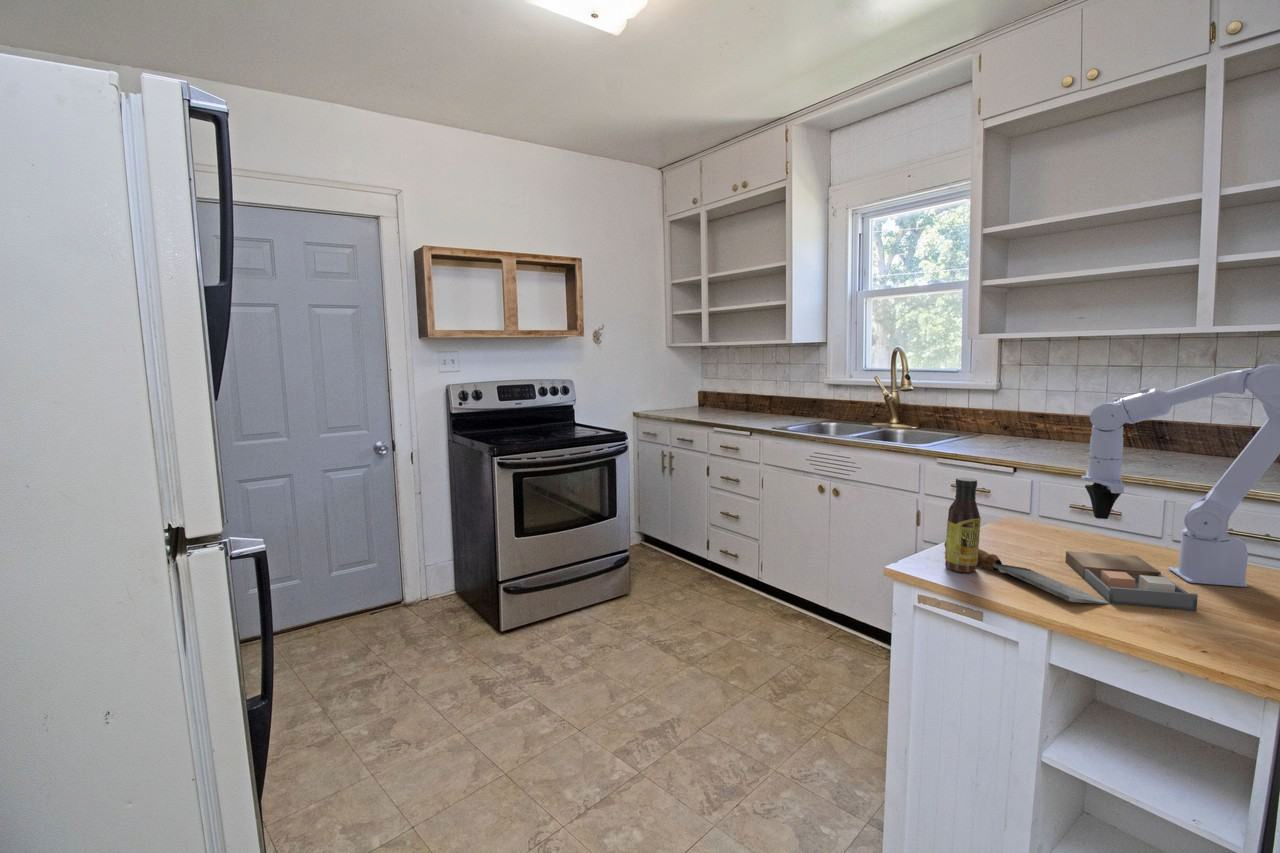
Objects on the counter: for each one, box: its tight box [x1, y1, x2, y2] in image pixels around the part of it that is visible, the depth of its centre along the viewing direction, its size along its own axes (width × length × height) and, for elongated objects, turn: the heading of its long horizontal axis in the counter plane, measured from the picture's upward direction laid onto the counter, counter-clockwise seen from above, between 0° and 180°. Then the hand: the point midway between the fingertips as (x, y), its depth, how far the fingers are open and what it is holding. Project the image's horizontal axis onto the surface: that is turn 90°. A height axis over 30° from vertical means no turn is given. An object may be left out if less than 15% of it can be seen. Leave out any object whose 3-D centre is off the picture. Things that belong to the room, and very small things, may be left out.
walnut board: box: [1064, 550, 1162, 580], centre depth 126 cm, size 13×10×2 cm
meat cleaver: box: [944, 541, 1111, 605], centre depth 127 cm, size 34×11×4 cm, turn 12°
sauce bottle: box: [944, 477, 982, 574], centre depth 129 cm, size 6×6×20 cm
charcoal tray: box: [1083, 569, 1199, 612], centre depth 115 cm, size 13×12×3 cm
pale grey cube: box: [1138, 575, 1176, 592], centre depth 113 cm, size 4×4×3 cm
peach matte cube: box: [1101, 570, 1135, 589], centre depth 116 cm, size 4×4×3 cm
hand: (1101, 518), depth 133 cm, fingers closed
